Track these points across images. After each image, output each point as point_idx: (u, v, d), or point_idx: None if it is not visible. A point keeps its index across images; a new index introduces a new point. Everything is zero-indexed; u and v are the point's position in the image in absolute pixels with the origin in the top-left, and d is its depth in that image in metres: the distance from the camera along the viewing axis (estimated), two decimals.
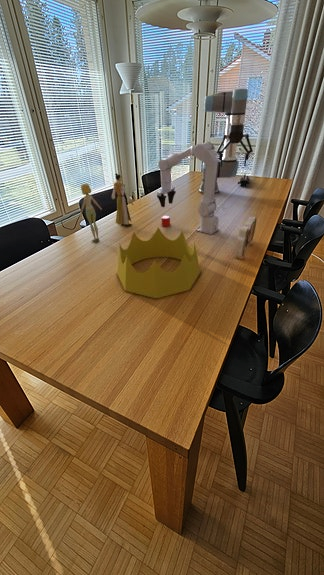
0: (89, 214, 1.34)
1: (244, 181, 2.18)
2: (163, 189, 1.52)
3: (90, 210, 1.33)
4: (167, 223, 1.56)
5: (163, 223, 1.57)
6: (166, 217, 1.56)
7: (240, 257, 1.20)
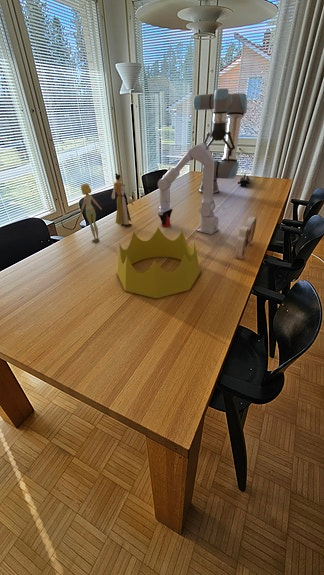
0: (89, 214, 1.34)
1: (244, 181, 2.18)
2: (163, 208, 1.51)
3: (90, 210, 1.33)
4: (167, 223, 1.56)
5: None
6: None
7: (240, 257, 1.20)
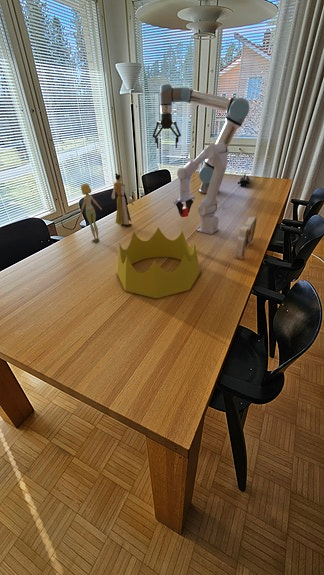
0: (89, 214, 1.34)
1: (244, 181, 2.18)
2: (180, 197, 1.52)
3: (90, 210, 1.33)
4: (183, 213, 1.57)
5: None
6: (184, 207, 1.57)
7: (240, 257, 1.20)
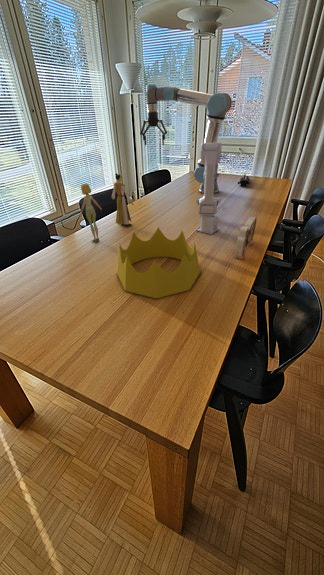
0: (89, 214, 1.34)
1: (244, 181, 2.18)
2: None
3: (90, 210, 1.33)
4: None
5: None
6: None
7: (240, 257, 1.20)
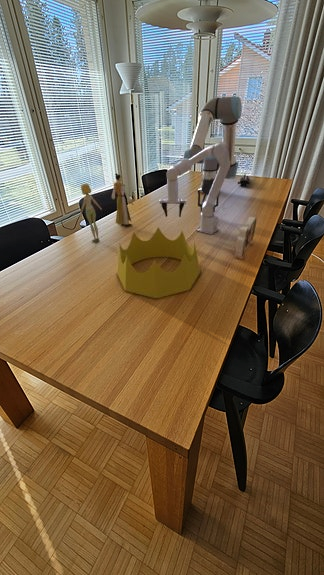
0: (89, 214, 1.34)
1: (244, 181, 2.18)
2: None
3: (90, 210, 1.33)
4: None
5: None
6: None
7: (240, 257, 1.20)
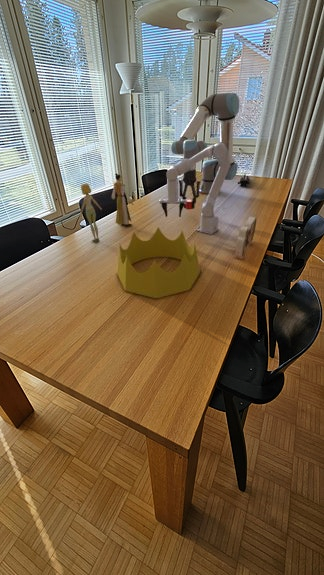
0: (89, 214, 1.34)
1: (244, 181, 2.18)
2: None
3: (90, 210, 1.33)
4: (186, 205, 1.70)
5: None
6: (188, 200, 1.68)
7: (240, 257, 1.20)
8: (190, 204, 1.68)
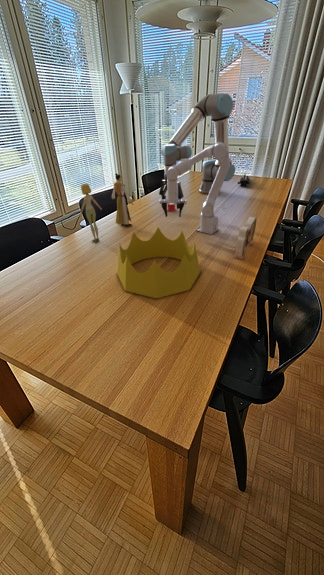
0: (89, 214, 1.34)
1: (244, 181, 2.18)
2: None
3: (90, 210, 1.33)
4: (168, 208, 1.79)
5: None
6: None
7: (240, 257, 1.20)
8: (171, 206, 1.77)
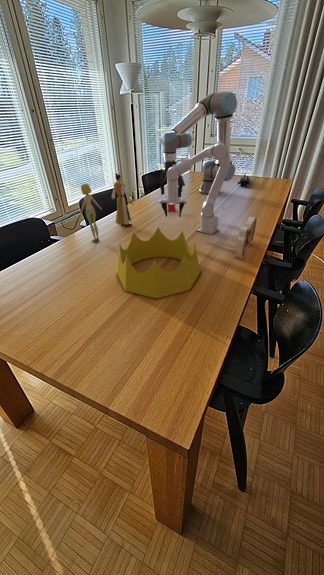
0: (89, 214, 1.34)
1: (244, 181, 2.18)
2: None
3: (90, 210, 1.33)
4: (168, 208, 1.79)
5: None
6: None
7: (240, 257, 1.20)
8: (171, 206, 1.77)
